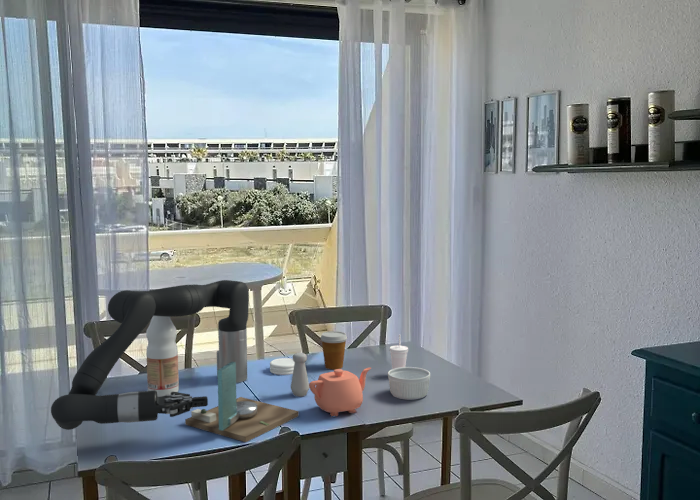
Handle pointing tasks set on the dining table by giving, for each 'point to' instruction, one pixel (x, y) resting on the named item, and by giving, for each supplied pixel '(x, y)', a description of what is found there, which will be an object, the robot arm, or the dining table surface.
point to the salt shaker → (299, 376)
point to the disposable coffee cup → (333, 349)
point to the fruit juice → (162, 356)
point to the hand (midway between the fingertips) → (207, 401)
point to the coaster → (282, 366)
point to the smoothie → (398, 355)
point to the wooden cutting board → (243, 421)
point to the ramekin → (409, 382)
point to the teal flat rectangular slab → (231, 398)
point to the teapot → (339, 391)
